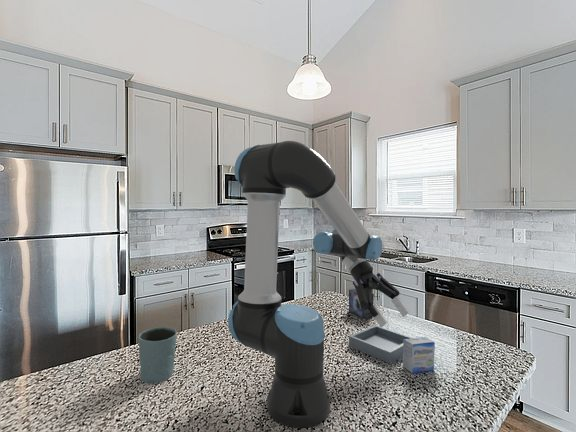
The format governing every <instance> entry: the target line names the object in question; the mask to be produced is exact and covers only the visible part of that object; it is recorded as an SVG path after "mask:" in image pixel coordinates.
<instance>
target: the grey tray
mask: <svg viewBox="0 0 576 432" xmlns="http://www.w3.org/2000/svg"><path fill="white" fill-rule="evenodd" d="M412 338H413V337H412V336H409V335H406V334H404V333H400V332H397V331H394V330H391V329H388V328H385V327H384V326H383V327H380V326H379V325H377V324H374V325H372V326H369V327H367V328H365V329H362V330H360V331H358V332H354V333H353V334H350V335H349V336H348V347H350V348H352V349H355V350H357V351H360V352H362V353H364V354H367V355H369V356H371V357H374V358H376V359H379V360H381V361H383V362H385V363H388V364H392V363H394V362H395V361H397V360H399V359H400V358H403V340H404V339H412Z"/></svg>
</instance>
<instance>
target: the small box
mask: <svg viewBox="0 0 576 432" xmlns="http://www.w3.org/2000/svg"><path fill="white" fill-rule="evenodd" d="M374 295H375V294H374V293H373V292H372V302H373V303H374ZM363 303H364V302H363ZM348 312H349V313H351V314H353V315H355V316H357V317H359V318H361V319H363V320H364V319H365V320H366V319H369V318H374V317H373V316H372V314H371V313H370V311H369V310H368V309H367V310H365V309H364V308H361V306H360V303H359V299H358V295H357V292H356V288H352V289H350V288H349V289H348Z"/></svg>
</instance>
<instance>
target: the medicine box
mask: <svg viewBox="0 0 576 432" xmlns="http://www.w3.org/2000/svg"><path fill="white" fill-rule="evenodd" d="M435 344H436V343H435V341H433V340H432V339H431V338H429V337H426V336H423V337H420V336H419V337H412V339H404V340H403V356H402V367H403V368H404V369H405V370H407V371H408V372H410V374H413V375H414V374H419V373H424V372H431V371H434V370H435V348H436V345H435Z"/></svg>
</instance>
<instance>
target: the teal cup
mask: <svg viewBox="0 0 576 432" xmlns="http://www.w3.org/2000/svg"><path fill="white" fill-rule="evenodd" d="M177 336H178V330H176V329H175V328H172V327H166V326H165V327H164V326H162V327H152V328H149V329H146V330H144V331H142V332H140V333H139V334H138V337H137V338H138V339H137V341H138V351H139V352H138V353H139V355H138V358H139V366H140V368H139V372H140V373H139V374H140V375H139V376H140V380H141V381H142V382H143V383H145V384H159V383H162V382H164V381H168V379H170V378H171V377H172V375H174V374H173V373H174V365H175V358H176V357H175V355H176V343H177Z"/></svg>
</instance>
